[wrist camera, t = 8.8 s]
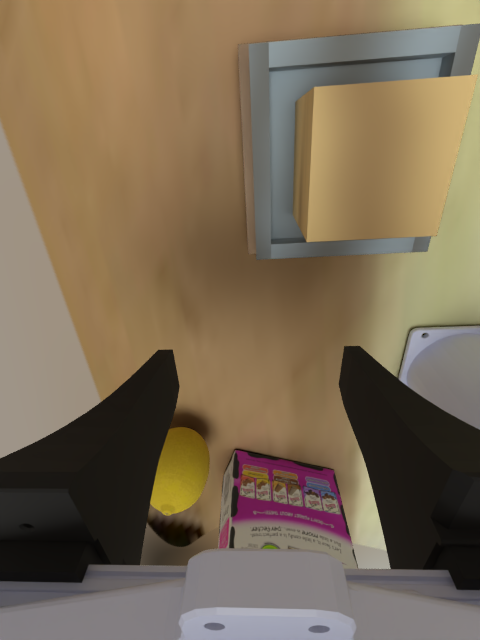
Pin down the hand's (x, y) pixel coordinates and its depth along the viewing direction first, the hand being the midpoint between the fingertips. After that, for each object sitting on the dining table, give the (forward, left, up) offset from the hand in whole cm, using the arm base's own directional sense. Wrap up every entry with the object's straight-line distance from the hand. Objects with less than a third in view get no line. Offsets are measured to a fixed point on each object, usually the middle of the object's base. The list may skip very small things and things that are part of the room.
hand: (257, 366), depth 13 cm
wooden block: (-5, -7, -7) cm, 11 cm away
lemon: (+7, +16, -11) cm, 20 cm away
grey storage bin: (-5, -7, -10) cm, 13 cm away
